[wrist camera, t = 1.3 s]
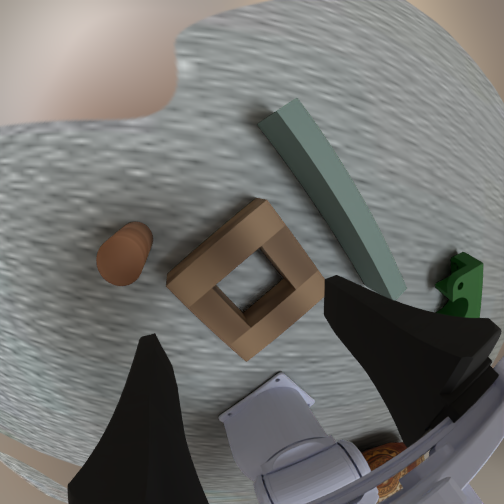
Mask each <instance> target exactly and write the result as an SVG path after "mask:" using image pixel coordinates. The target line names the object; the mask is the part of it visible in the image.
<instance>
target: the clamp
mask: <svg viewBox="0 0 504 504" xmlns="http://www.w3.org/2000/svg"><path fill="white" fill-rule="evenodd" d="M482 284H483V263H482V262H481V261H479V260H477V259H476V258H474V257H472V256H470V255H469V254H467V253H465V252H462V253H460V254H458V255H456V256H454V257H452V258H451V276H449V277H447V278H445V279H443V280H442V281H440V282H438V283H436V284H435V288H437V289H438V290H439V291H440V292H441V293H443V294H444V295H445V296H446V297H447V298H448V299H449V301H448V303H447V304H446V305H445V306H444V307H443V308H442V309H441V310H439V311H437V312H436V313H439V314H444V315H450V316H457V317H466V318H480V309H481V298H482Z"/></svg>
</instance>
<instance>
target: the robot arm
mask: <svg viewBox="0 0 504 504" xmlns="http://www.w3.org/2000/svg"><path fill="white" fill-rule="evenodd" d="M324 316H325V318H326V319H327V321H328V323H329V324H330V326H331V328H332V329H333V331H334V332H335V334H336V335H337V336H338V338H339V339H340V340H341V341H342V343H343V344H344V345H345V346H346V347H347V349H348V350H349V351H350V352H351V354H352V355H353V356H354V357H355V358H356V360H357V361H358V362H359V363H360V365H361V366H362V367H363V368H364V370H365V371H366V373H367V374H368V375H369V377H370V379H371V380H372V382H373V383H374V385H375V387H376V388H377V390H378V392H379V393H380V395H381V397H382V399H383V400H384V402H385V404H386V406H387V408H388V410H389V412H390V414H391V416H392V418H393V420H394V422H395V424H396V426H397V428H398V431H399V433H400V435H401V438H402V440H403V443H404V444H405V446H406V447H407V449H406V450H404V451H403V452H401V453H400V454H398V455H397V456H395V457H394V458H392V459H391V460H389V461H388V462H386V463H384V464H383V465H381V466H380V467H378V468H376V469H375V470H373V471H371V470H370V468H369V466H368V464H367V462H366V460H365V458H364V457H363V455H362V454H361V452H360V451H359V450H358V448H357V447H356V446H355V445H354V444H353V443H352V442H350V441H346V440H343V439H342V440H340V441H338V442H336V441H335V439H334V438H333V436H332V435H329V436H327V434H326V433H325V431H324V430H323V428H322V426H321V425H320V423H319V422H318V420H317V419H316V417H315V416H314V414H313V412H312V411H311V409H310V408H309V407H310V406H311V405H313V404H314V402H315V400H314V399H313V398H312V397H311V396H310V395H308V394H307V393H306V392H305V391H304V390H303V389H301V388H300V387H299V386H298V385H297V384H296V383H294V382H293V381H292V380H291V379H290V378H289V377H288V376H287V375H285V374H284V373H283V372H280V373H278V374H277V375H275V376H274V377H273V378H271V379H270V380H269V381H267V382H266V383H265V384H263V385H262V386H261V387H259V388H258V389H257V390H255V391H254V392H253V393H251V394H250V395H248V396H247V397H246V398H244V399H243V400H241V401H240V402H239V403H237V404H236V405H234V406H233V407H231V408H230V409H228V410H227V411H225V412H224V413H223V414H221V415H220V416H219V420H220V421H221V422H223V423H224V426H225V430H226V434H227V437H228V441H229V444H230V448H231V451H232V455H233V458H234V460H235V462H236V464H237V466H238V467H239V469H240V470H241V471H242V473H243V474H244V475H245V476H247V477H248V478H249V479H251V480H252V481H254V490H255V493H256V496H257V499H258V501H259V504H376V503H377V501H378V499H379V495H378V489H377V486H378V485H380V484H382V483H383V482H385V481H387V480H388V479H390V478H391V477H393V476H394V475H396V474H397V473H399V472H400V471H402V470H403V469H405V468H406V467H408V466H409V465H410V464H412V463H413V462H414V461H416V460H417V459H419V458H420V457H421V456H423V455H424V454H425V453H426V452H428V451H429V450H430V449H431V450H430V452H429V457H428V458H427V459H426V460H425V461H423V462H422V463H421V464H419V465H418V466H417V467H415V468H414V469H413V470H411V471H410V472H409V473H407V474H406V475H404V476H403V477H401V478H400V479H399V482H400V484H401V485H402V487H403V488H402V489H400V490H399V491H397V492H396V493H394V494H393V495H391V496H389V497H388V498H386V499H384V500H383V501H381V502H379V503H378V504H484V503H483V502H482V501H481V499H480V498H479V497H478V495H477V494H476V492H475V491H474V490H473V488H472V487H471V486H470V484H469V482H470V481H471V480H472V479H473V477H474V476H475V475H476V474H477V473H478V472H479V470H480V469H481V468H482V467H483V465H484V464H485V463H486V462H487V460H488V459H489V458H490V456H491V455H492V454H493V452H494V451H495V450H496V448H497V447H498V445H499V444H500V442H501V441H502V440H503V438H504V356H503V357H502V358H501V360H500V361H499V362H498V363H497V365H496V366H495V367H494V368H492V367H491V366H490V365H491V363H492V360H491V359H490V358H489V357H488V356H489V354H490V353H491V351H492V350H493V348H494V346H495V345H496V343H497V341H498V339H499V337H500V335H501V329H500V328H499V327H498V326H497V325H496V324H495V323H494V322H492V321H491V320H490V319H489V318H466V317H457V316H450V315H444V314H439V313H434V312H430V311H425V310H422V309H418V308H415V307H412V306H409V305H406V304H403V303H400V302H397V301H395V300H392V299H390V298H387V297H385V296H382V295H380V294H378V293H376V292H373V291H371V290H369V289H367V288H365V287H362V286H360V285H358V284H356V283H354V282H352V281H349V280H347V279H345V278H343V277H340V276H338V275H335V276H333V277H330V278H327V279H325V286H324ZM276 379H278V380H276ZM229 413H230V414H229ZM68 502H69V504H209V503H208V500H207V498H206V496H205V493H204V491H203V489H202V486H201V484H200V481H199V478H198V476H197V473H196V470H195V467H194V464H193V462H192V459H191V455H190V452H189V449H188V446H187V442H186V438H185V433H184V428H183V421H182V415H181V408H180V401H179V394H178V387H177V383H176V379H175V375H174V371H173V367H172V364H171V362H170V361H169V359H168V357H167V355H166V353H165V351H164V350H163V348H162V346H161V344H160V342H159V340H158V338H157V336H156V334H151V335H147V336H143V337H141V338H140V340H139V343H138V346H137V350H136V353H135V357H134V360H133V363H132V366H131V369H130V372H129V375H128V378H127V381H126V384H125V387H124V389H123V392H122V394H121V397H120V400H119V402H118V405H117V407H116V409H115V412H114V414H113V416H112V418H111V420H110V422H109V424H108V426H107V428H106V430H105V432H104V434H103V436H102V437H101V439H100V441H99V443H98V444H97V446H96V447H95V449H94V450H93V452H92V454H91V455H90V457H89V458H88V460H87V461H86V463H85V464H84V465H83V467H82V468H81V469H80V471H79V472H78V473H77V474H76V476H75V477H74V478H73V479H72V480H71V482H70V483H69V484H68Z"/></svg>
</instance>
